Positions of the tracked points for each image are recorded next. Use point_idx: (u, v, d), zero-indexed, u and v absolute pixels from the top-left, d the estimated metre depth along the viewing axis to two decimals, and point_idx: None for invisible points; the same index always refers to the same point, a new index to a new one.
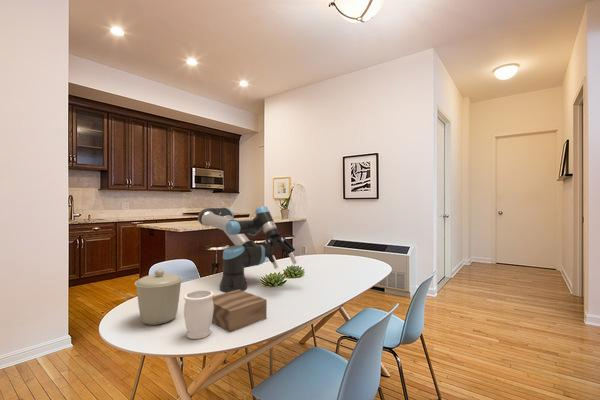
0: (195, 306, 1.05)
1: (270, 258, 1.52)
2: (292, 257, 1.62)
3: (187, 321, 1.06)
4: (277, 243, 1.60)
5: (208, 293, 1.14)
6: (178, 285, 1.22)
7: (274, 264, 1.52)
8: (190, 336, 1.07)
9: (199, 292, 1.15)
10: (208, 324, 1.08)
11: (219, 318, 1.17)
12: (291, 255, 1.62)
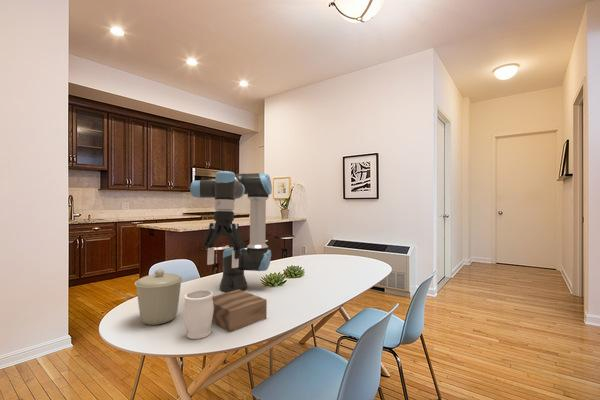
0: (195, 306, 1.05)
1: None
2: None
3: (187, 321, 1.06)
4: (220, 232, 1.14)
5: (208, 293, 1.14)
6: (178, 285, 1.22)
7: None
8: (190, 336, 1.07)
9: (199, 292, 1.15)
10: (208, 324, 1.08)
11: (219, 318, 1.17)
12: None
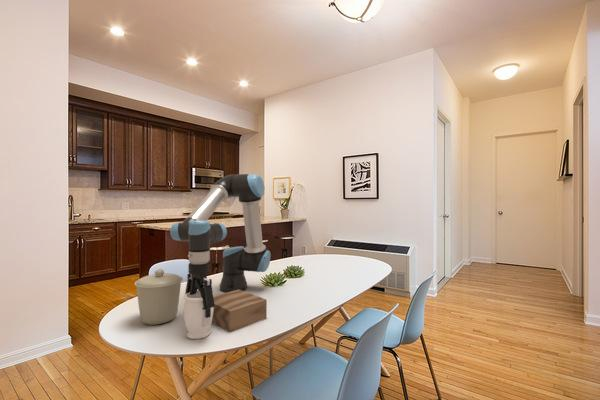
0: (195, 306, 1.05)
1: None
2: None
3: (187, 321, 1.06)
4: (195, 284, 1.10)
5: None
6: (178, 285, 1.22)
7: None
8: (190, 336, 1.07)
9: (199, 292, 1.15)
10: None
11: (219, 318, 1.17)
12: None
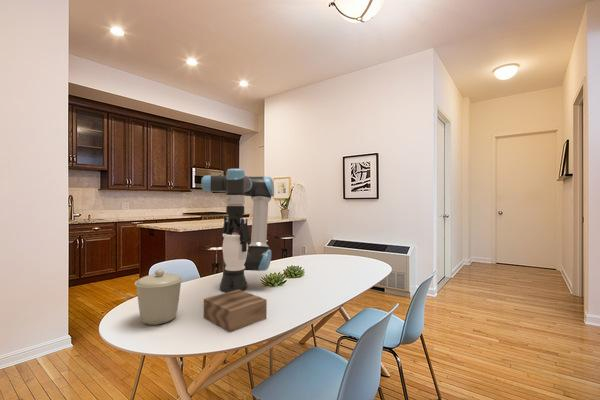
0: (233, 242, 1.20)
1: None
2: None
3: (226, 255, 1.21)
4: (232, 225, 1.25)
5: None
6: (178, 285, 1.22)
7: None
8: (229, 268, 1.22)
9: (234, 234, 1.30)
10: (244, 259, 1.23)
11: (219, 318, 1.17)
12: None
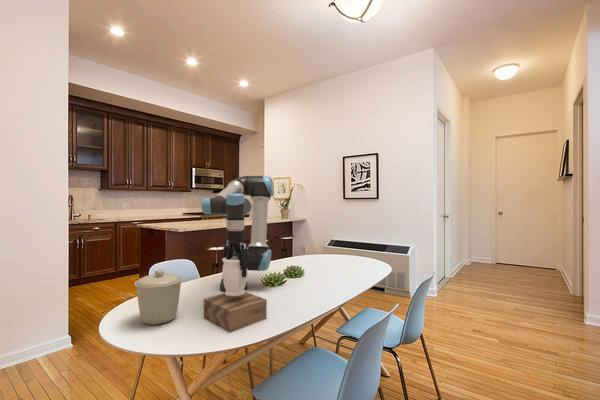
0: (233, 267, 1.20)
1: None
2: None
3: (226, 280, 1.21)
4: (232, 249, 1.25)
5: None
6: (178, 285, 1.22)
7: None
8: (229, 293, 1.22)
9: (234, 257, 1.30)
10: None
11: (219, 318, 1.17)
12: None
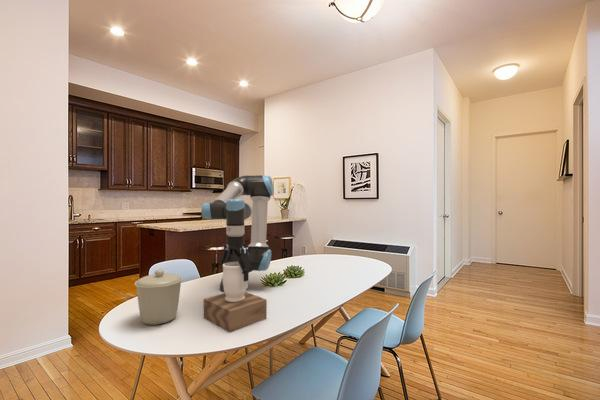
0: (233, 273, 1.21)
1: None
2: None
3: (226, 286, 1.21)
4: (232, 255, 1.25)
5: None
6: (178, 285, 1.22)
7: None
8: (229, 299, 1.22)
9: (234, 263, 1.30)
10: (244, 289, 1.24)
11: (219, 318, 1.17)
12: None
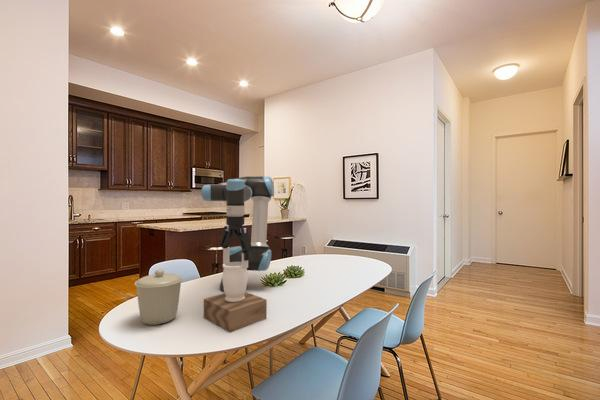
0: (233, 273, 1.21)
1: None
2: None
3: (226, 286, 1.21)
4: (232, 235, 1.25)
5: None
6: (178, 285, 1.22)
7: None
8: (229, 299, 1.22)
9: (234, 263, 1.30)
10: (244, 289, 1.24)
11: (219, 318, 1.17)
12: None
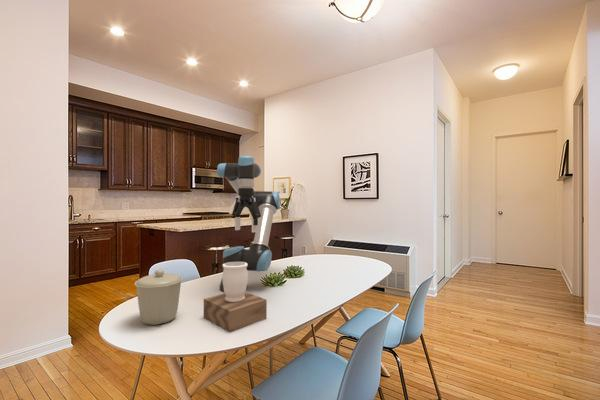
0: (233, 273, 1.21)
1: None
2: None
3: (226, 286, 1.21)
4: (243, 204, 1.44)
5: (242, 264, 1.30)
6: (178, 285, 1.22)
7: None
8: (229, 299, 1.22)
9: (234, 263, 1.30)
10: (244, 289, 1.24)
11: (219, 318, 1.17)
12: None
